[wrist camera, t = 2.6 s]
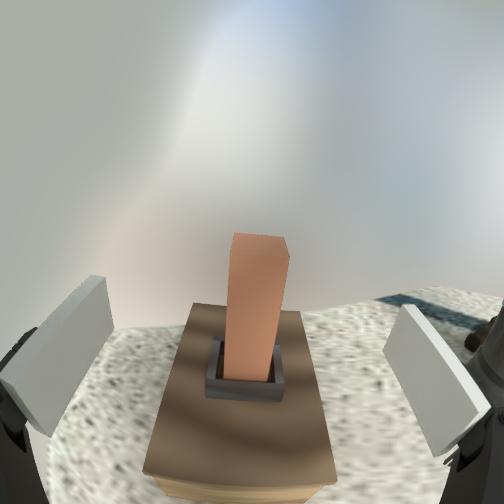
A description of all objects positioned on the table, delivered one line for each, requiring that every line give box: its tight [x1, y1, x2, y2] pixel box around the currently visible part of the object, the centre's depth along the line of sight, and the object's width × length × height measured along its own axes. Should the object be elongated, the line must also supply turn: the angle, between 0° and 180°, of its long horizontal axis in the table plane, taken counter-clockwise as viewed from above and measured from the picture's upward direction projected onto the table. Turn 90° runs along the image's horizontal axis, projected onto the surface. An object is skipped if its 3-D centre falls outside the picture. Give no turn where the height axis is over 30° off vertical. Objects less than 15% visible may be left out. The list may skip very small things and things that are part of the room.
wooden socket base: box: [142, 303, 338, 504], centre depth 27 cm, size 25×15×11 cm, turn 0°
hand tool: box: [465, 316, 497, 352], centre depth 42 cm, size 19×4×5 cm, turn 105°
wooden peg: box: [223, 233, 290, 383], centre depth 23 cm, size 4×4×14 cm
